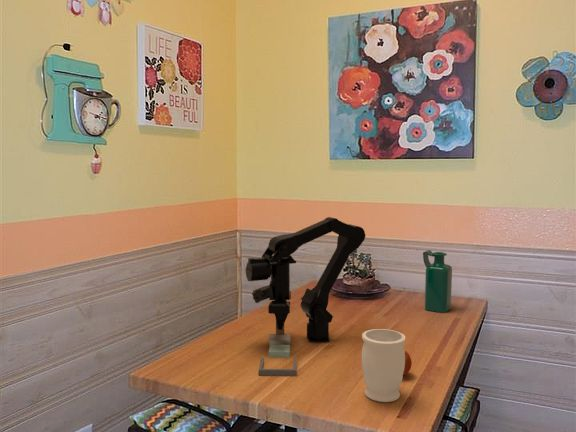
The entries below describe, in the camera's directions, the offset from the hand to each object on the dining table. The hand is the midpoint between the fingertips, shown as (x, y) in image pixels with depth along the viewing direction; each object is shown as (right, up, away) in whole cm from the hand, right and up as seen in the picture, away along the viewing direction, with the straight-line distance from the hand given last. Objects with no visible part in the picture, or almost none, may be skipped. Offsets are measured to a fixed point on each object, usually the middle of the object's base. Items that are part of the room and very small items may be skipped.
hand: (280, 327), depth 164 cm
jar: (+25, -9, -34) cm, 44 cm away
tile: (0, -7, -7) cm, 10 cm away
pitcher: (+59, -1, +39) cm, 70 cm away
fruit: (+32, -8, -22) cm, 40 cm away
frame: (0, -7, -18) cm, 19 cm away
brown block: (0, -5, 0) cm, 5 cm away
